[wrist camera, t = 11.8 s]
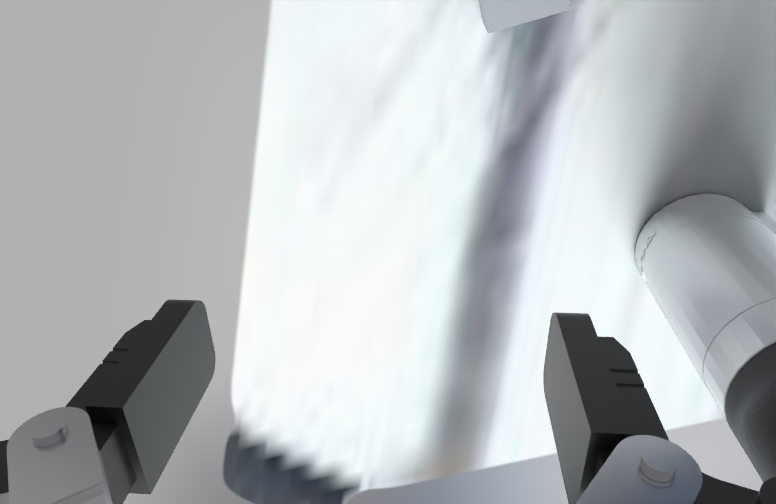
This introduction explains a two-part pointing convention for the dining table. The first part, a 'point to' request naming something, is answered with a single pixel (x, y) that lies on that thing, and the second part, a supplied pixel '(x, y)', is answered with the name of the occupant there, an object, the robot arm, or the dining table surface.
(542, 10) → the slate block
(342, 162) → the dining table surface
